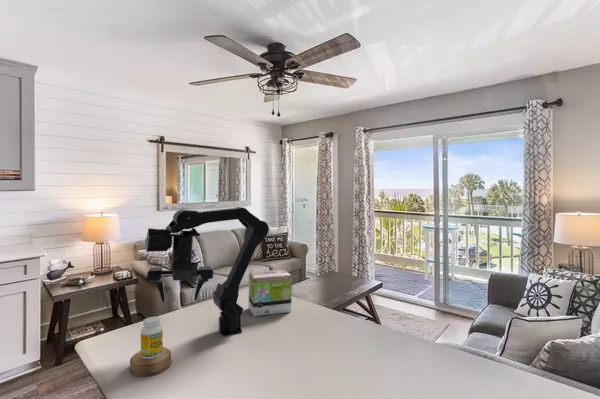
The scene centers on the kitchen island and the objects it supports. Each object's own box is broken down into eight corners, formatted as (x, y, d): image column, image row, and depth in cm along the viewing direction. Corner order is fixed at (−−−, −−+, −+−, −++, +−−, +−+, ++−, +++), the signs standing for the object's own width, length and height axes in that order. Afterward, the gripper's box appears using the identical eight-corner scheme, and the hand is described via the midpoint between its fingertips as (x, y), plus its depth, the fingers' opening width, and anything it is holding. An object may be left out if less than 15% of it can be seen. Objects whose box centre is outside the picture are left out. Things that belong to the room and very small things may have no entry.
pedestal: (170, 353, 92) (170, 343, 92) (171, 371, 83) (171, 360, 83) (131, 360, 88) (131, 350, 88) (128, 380, 79) (128, 368, 79)
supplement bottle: (153, 348, 89) (153, 314, 89) (167, 352, 87) (167, 317, 87) (136, 357, 84) (136, 321, 84) (150, 361, 82) (150, 324, 82)
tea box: (254, 317, 118) (253, 278, 118) (248, 308, 127) (248, 271, 127) (292, 312, 124) (292, 274, 123) (283, 303, 133) (283, 268, 132)
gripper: (146, 255, 87) (143, 312, 87) (216, 255, 94) (213, 307, 94) (149, 249, 97) (147, 299, 97) (212, 248, 104) (209, 296, 104)
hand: (179, 301), depth 98 cm, fingers open, 9 cm apart
